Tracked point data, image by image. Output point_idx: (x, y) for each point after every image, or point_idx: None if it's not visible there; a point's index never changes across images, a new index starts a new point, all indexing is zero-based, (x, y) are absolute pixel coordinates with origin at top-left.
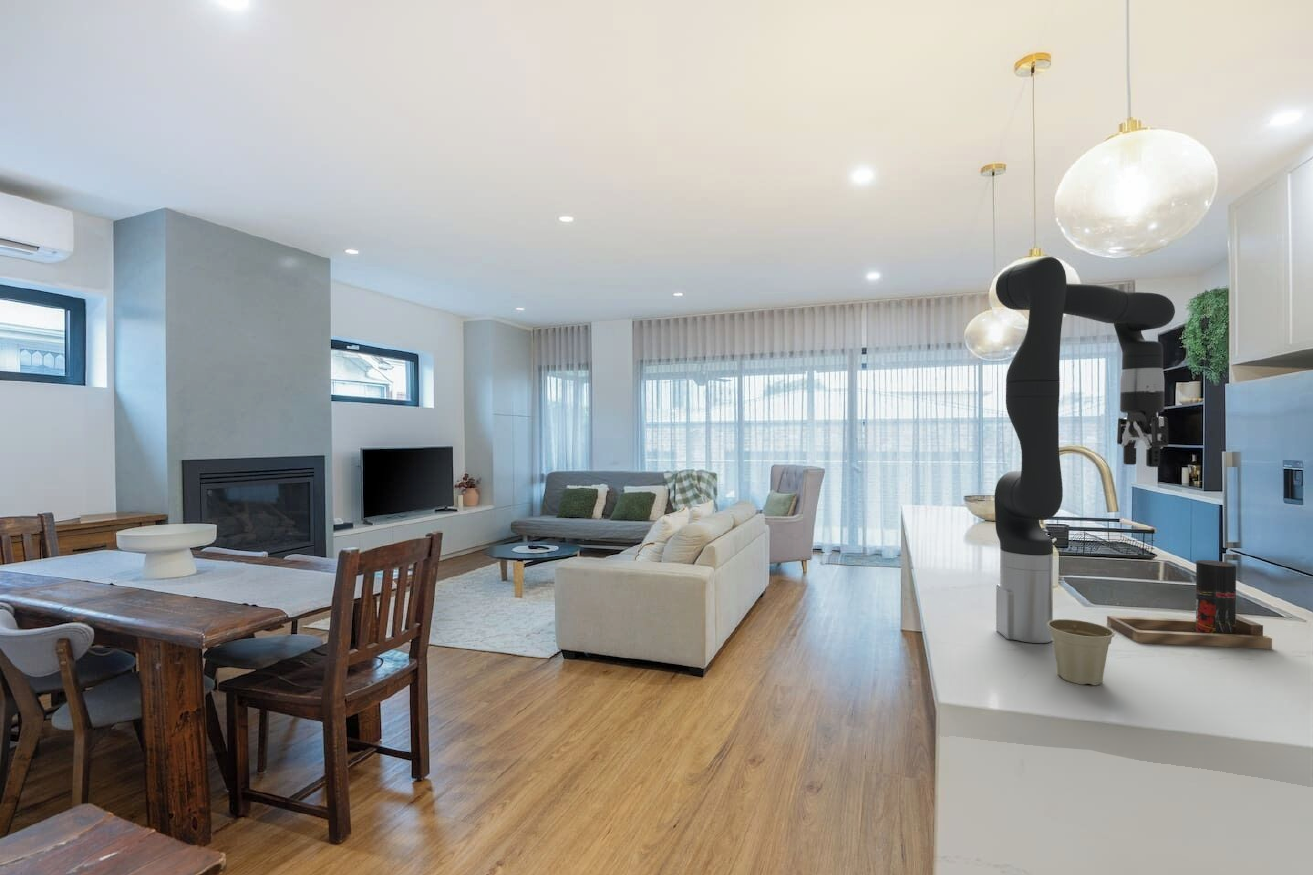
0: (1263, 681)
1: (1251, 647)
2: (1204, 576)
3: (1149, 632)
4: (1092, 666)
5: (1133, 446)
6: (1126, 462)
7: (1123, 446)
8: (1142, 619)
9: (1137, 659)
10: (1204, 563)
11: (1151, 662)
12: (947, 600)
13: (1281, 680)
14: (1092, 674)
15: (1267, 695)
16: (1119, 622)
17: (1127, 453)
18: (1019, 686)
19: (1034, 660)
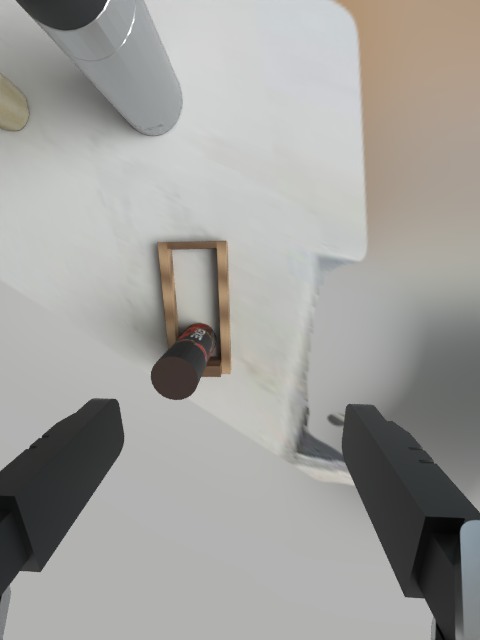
0: (71, 299)
1: None
2: (170, 350)
3: (160, 257)
4: None
5: (430, 604)
6: (351, 413)
7: (476, 532)
8: (218, 279)
9: (98, 210)
10: (167, 360)
11: (93, 221)
12: (337, 17)
13: (79, 316)
14: None
15: (34, 279)
16: (197, 242)
17: (383, 473)
18: None
19: (53, 72)
